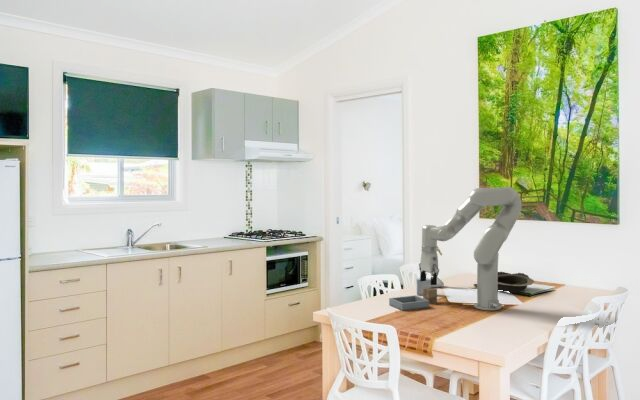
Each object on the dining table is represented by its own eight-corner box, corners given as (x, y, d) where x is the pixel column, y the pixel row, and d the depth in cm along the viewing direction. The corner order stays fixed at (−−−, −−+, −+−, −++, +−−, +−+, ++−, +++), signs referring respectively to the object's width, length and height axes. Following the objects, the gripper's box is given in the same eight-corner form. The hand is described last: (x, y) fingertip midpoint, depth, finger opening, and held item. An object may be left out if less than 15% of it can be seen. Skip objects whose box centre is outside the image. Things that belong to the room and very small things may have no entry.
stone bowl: (499, 284, 313) (501, 268, 312) (541, 293, 295) (542, 277, 294) (477, 290, 296) (478, 273, 295) (520, 300, 278) (521, 283, 277)
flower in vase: (439, 289, 302) (439, 245, 301) (420, 287, 308) (420, 244, 307) (447, 285, 313) (447, 243, 312) (429, 283, 319) (429, 242, 318)
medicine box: (430, 293, 291) (430, 278, 291) (431, 295, 287) (431, 279, 286) (416, 293, 292) (416, 278, 292) (417, 295, 287) (416, 279, 287)
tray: (429, 307, 260) (429, 300, 260) (402, 310, 254) (402, 303, 254) (415, 302, 272) (415, 295, 272) (389, 305, 267) (389, 298, 266)
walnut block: (437, 303, 269) (436, 289, 269) (428, 304, 268) (428, 290, 267) (431, 301, 274) (431, 287, 274) (423, 302, 272) (423, 288, 272)
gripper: (445, 251, 263) (444, 286, 264) (426, 246, 279) (425, 279, 280) (432, 252, 261) (431, 286, 262) (413, 247, 277) (413, 280, 278)
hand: (428, 282), depth 271 cm, fingers open, 9 cm apart
